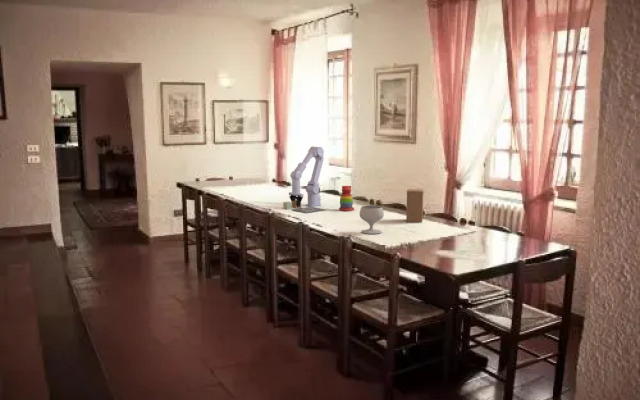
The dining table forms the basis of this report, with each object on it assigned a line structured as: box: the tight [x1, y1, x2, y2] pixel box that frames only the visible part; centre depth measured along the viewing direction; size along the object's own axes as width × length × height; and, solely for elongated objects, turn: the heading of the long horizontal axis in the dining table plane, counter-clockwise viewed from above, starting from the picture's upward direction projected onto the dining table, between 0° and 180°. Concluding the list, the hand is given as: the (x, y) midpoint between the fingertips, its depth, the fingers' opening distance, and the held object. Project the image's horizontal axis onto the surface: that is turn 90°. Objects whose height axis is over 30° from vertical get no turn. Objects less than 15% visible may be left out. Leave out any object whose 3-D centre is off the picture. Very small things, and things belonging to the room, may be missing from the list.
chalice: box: [359, 204, 385, 235], centre depth 325 cm, size 14×14×15 cm
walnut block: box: [290, 200, 302, 209], centre depth 412 cm, size 5×5×5 cm
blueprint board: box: [291, 206, 326, 214], centre depth 401 cm, size 18×16×1 cm
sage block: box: [282, 201, 293, 211], centre depth 407 cm, size 4×4×5 cm
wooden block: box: [405, 188, 424, 223], centre depth 359 cm, size 10×10×20 cm
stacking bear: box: [338, 185, 355, 212], centre depth 399 cm, size 11×10×18 cm
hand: (296, 205), depth 412 cm, fingers closed on walnut block, 5 cm apart
